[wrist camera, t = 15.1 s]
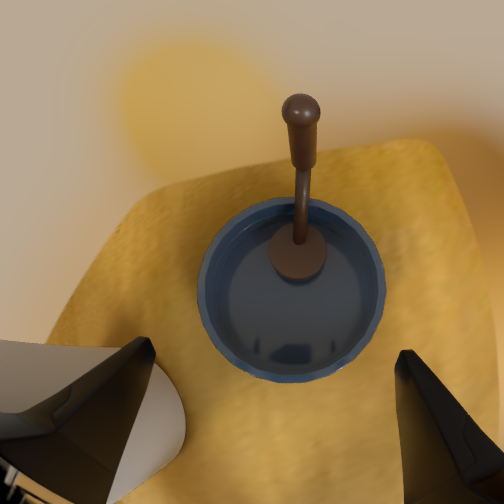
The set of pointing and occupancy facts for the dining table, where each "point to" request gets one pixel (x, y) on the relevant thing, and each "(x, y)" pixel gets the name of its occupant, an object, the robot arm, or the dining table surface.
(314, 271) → the ladle
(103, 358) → the cylinder vase
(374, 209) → the dining table surface
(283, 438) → the dining table surface
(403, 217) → the dining table surface
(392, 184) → the dining table surface
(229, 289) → the bowl
